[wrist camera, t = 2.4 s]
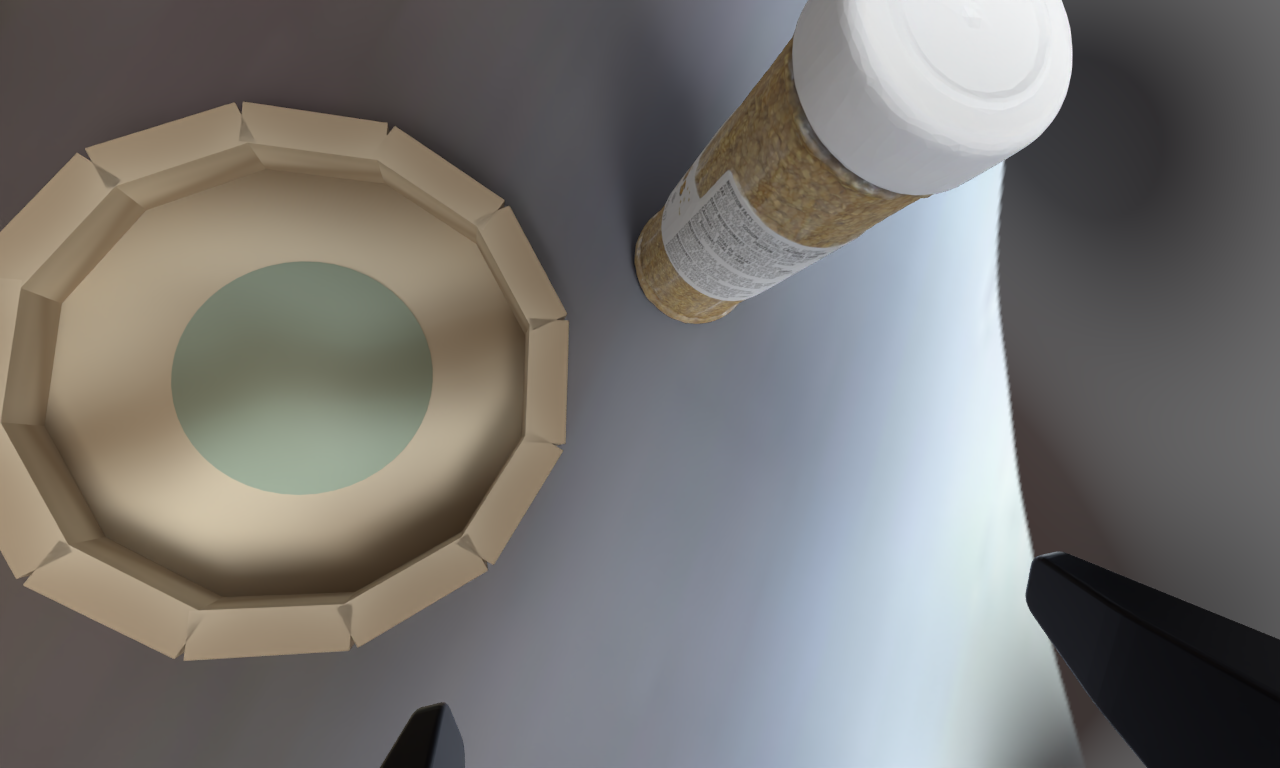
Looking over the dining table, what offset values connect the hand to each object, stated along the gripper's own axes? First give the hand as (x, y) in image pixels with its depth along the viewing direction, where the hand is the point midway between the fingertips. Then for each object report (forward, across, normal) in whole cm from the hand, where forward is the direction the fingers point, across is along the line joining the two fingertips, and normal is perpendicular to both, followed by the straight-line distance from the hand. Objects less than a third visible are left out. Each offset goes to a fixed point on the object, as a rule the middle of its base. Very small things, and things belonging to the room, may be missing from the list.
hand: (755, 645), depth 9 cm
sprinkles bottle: (+16, -3, -1) cm, 16 cm away
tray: (+12, +10, -1) cm, 16 cm away
